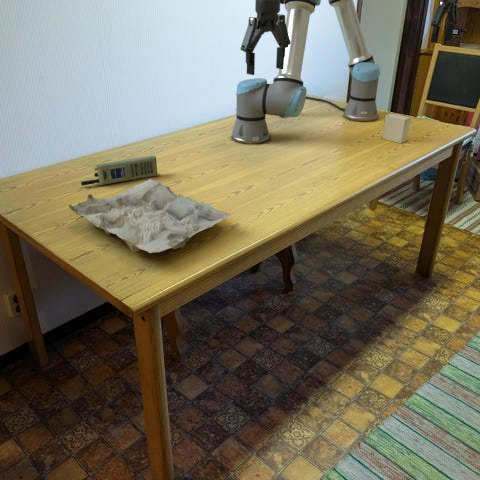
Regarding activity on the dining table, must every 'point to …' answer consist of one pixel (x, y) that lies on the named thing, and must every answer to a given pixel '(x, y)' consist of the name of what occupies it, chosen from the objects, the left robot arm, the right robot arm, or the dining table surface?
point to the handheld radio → (124, 170)
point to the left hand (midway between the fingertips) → (265, 71)
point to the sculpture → (149, 216)
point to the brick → (396, 128)
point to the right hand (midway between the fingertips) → (441, 41)
